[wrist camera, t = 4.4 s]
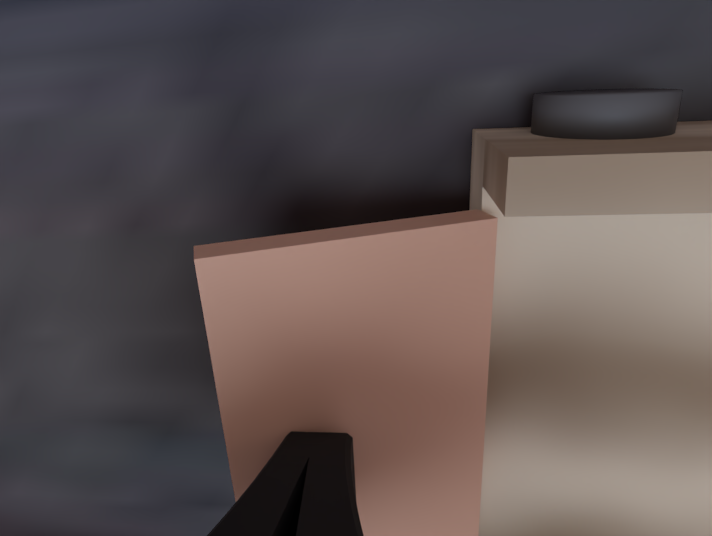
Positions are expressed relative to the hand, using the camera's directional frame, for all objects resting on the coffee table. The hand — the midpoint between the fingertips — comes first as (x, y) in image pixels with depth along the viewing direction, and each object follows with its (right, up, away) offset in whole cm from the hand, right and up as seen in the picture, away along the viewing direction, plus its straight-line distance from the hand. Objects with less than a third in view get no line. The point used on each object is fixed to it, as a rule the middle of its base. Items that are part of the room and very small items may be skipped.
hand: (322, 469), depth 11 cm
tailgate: (+4, +1, +2) cm, 4 cm away
